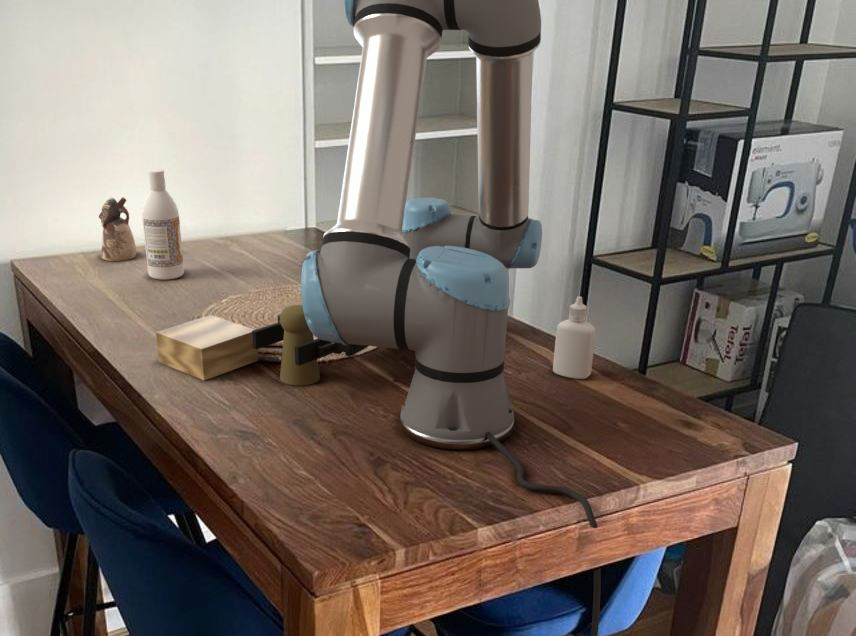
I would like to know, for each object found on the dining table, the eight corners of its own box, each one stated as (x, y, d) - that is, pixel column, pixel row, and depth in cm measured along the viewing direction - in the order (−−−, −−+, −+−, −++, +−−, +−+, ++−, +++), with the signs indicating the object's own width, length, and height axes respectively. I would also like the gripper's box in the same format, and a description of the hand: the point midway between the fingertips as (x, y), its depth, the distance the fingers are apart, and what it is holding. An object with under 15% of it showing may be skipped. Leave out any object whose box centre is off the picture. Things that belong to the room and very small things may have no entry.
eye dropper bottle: (571, 365, 156) (579, 289, 151) (595, 377, 152) (603, 300, 146) (548, 370, 155) (555, 294, 149) (571, 383, 150) (579, 304, 144)
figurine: (103, 252, 214) (96, 194, 208) (138, 251, 215) (131, 193, 209) (100, 261, 208) (92, 202, 202) (135, 260, 208) (128, 201, 202)
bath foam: (185, 279, 197) (176, 173, 187) (149, 281, 196) (137, 174, 186) (183, 269, 203) (173, 165, 193) (147, 271, 202) (136, 167, 192)
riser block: (258, 360, 159) (256, 330, 157) (204, 380, 152) (201, 349, 150) (213, 344, 166) (210, 314, 163) (159, 362, 159) (155, 332, 156)
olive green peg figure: (314, 386, 150) (312, 315, 144) (275, 383, 151) (271, 312, 145) (324, 371, 155) (322, 301, 149) (285, 368, 156) (282, 299, 151)
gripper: (432, 350, 156) (326, 392, 142) (335, 318, 169) (230, 353, 155) (434, 303, 153) (325, 341, 139) (335, 274, 166) (226, 306, 152)
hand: (275, 347), depth 147 cm, fingers open, 9 cm apart
